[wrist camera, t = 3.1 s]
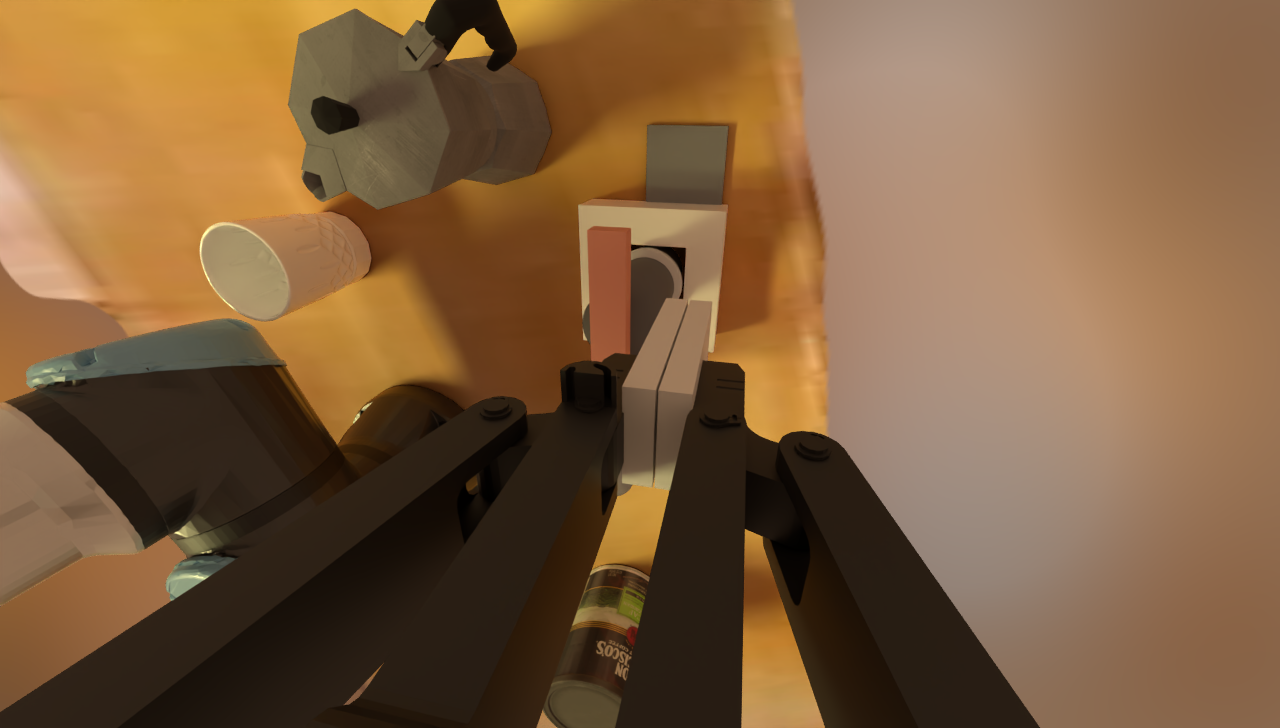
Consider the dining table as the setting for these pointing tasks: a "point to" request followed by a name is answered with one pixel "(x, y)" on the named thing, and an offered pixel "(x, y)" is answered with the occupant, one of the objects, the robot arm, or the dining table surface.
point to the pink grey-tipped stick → (609, 296)
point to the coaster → (686, 164)
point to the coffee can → (598, 650)
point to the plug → (648, 290)
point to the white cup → (283, 261)
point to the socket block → (666, 241)
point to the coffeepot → (413, 106)
